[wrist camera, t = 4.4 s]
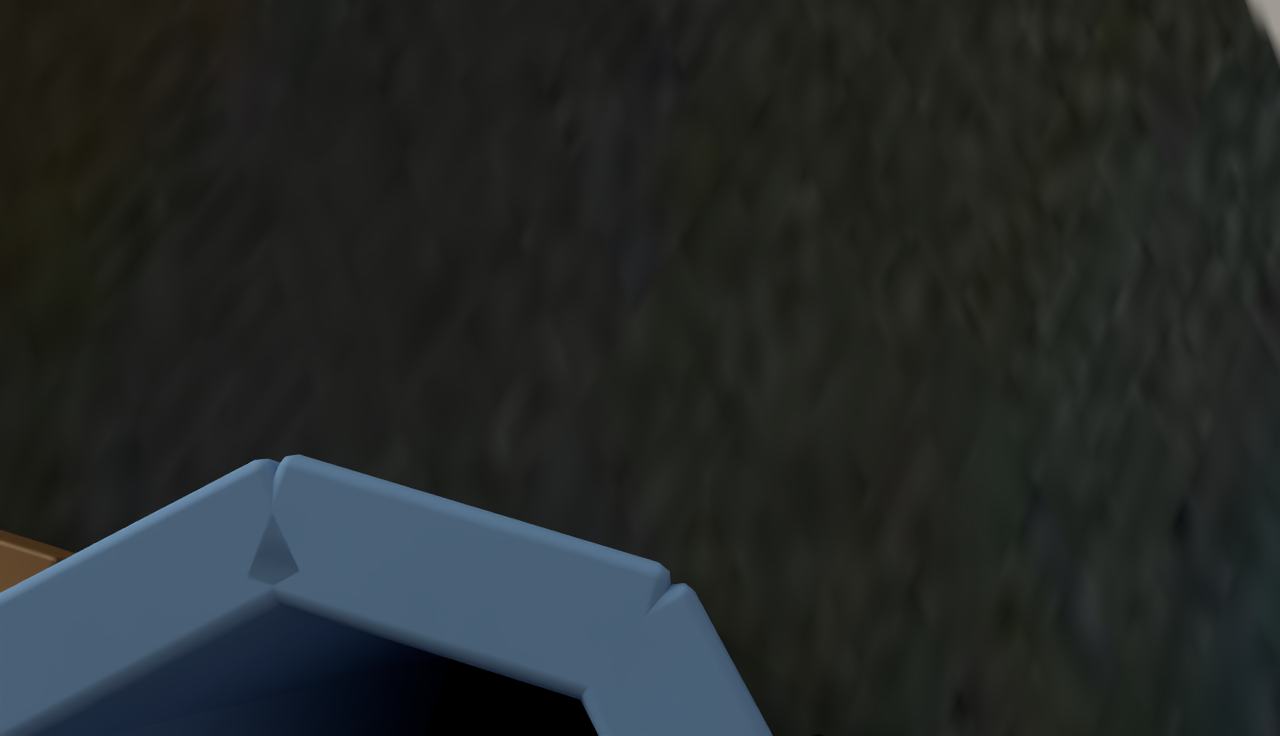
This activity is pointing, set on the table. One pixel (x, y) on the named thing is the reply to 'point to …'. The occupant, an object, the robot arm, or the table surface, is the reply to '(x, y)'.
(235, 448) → the table surface
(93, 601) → the sleeve
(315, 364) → the table surface
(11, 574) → the base
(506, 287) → the table surface
